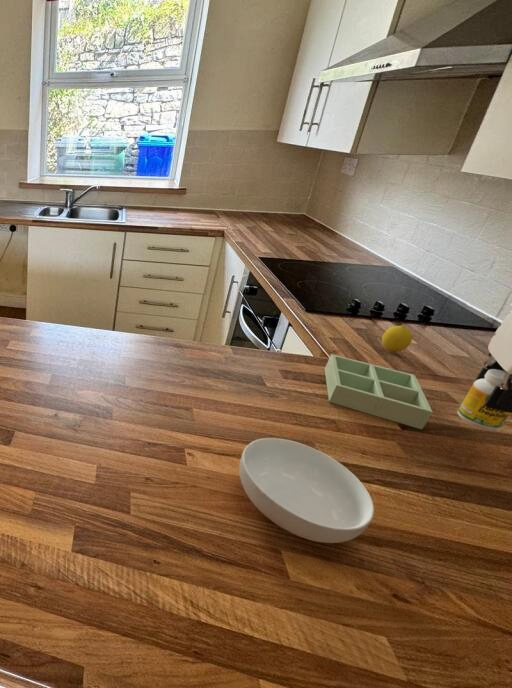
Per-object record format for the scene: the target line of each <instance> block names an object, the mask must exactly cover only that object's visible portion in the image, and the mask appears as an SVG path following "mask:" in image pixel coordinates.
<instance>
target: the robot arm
mask: <svg viewBox="0 0 512 688" xmlns="http://www.w3.org/2000/svg"><path fill="white" fill-rule="evenodd" d="M509 306H510V307H511V309H510V310H509V312H508V313H507V315H506V316H505V317H504V318H503V320H502V322H501V323H500V324H499V325H498V328H497V329H496V331H495V332H494V334H493V335H492V337H491V339H490V341H489V343H488V345H487V347H488V348H487V349H488V352H489V353H488V358H487V359H486V360H485V361H484V362H483V367H482V368H481V370H480V371H479V373H478V375H476V378H475V379H474V381H473V383H472V385H473V384H474V382H475V381H476V380H478V379H484V378H485V374H486V373H487V371H488V370H490V369H496V370H502V371H506V372H505V375H504V377H503V380H502V382H501V385H500V386H496V387H495V388H494V390H493V391H492V393H491V395H490V396H489V398H488V399H487V401H486V402H485V405H486V407H489V408H493V409H497V410H501V411H505V412H509V413H511V414H512V301H511V302H510V304H509Z"/></svg>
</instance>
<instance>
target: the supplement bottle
mask: <svg viewBox="0 0 512 688" xmlns="http://www.w3.org/2000/svg"><path fill="white" fill-rule="evenodd" d="M505 372H506V371H502V370H496V369H490V370H488V371H487V373H486V374H485V378H484V379H478V380H476V381H475V380H474V381H475V382H474V381H473V383H474V384H473V383H472V385H471V387H470V389H469V390H468V392H467V394H466V396H465V397H464V399H463V400H462V403H461V404H460V406H459V408H458V409H457V415H458V416H459V418H460V419H462V420H463V421H465V422H466V423H468V424H470V425H473V426H475V427H477V428H481V429H484V430H491V431H495V430H499V429H501V428H502V427H503V426H504V425H505V422H506V421H507V420H508V418H509V417H510V415H511V414H512V413H509V412H505V411H501V410H497V409H493V408H489V407H486V405H485V402H486V401H487V399H488V398H489V396H490V395H491V393H492V391H493V390H494V388H495V387H496V386H500V385H501V382H502V380H503V377H504V375H505Z"/></svg>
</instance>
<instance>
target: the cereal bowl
mask: <svg viewBox="0 0 512 688" xmlns="http://www.w3.org/2000/svg"><path fill="white" fill-rule="evenodd" d="M238 468H239V470H238V473H239V480H240V481H241V482H240V484H241V485H242V488H243V490H244V492H245V494H246V495H247V498H248V499H249V500H250V502H251V503H252V504H253V505H254V506H255V507H256V508H257V509H258V511H260V513H261V514H263V516H264V517H266V518H267V519H268V520H269V521H271V522H272V523H274V524H275V525H277V526H278V527H280V528H281V529H283V530H284V531H286V532H288V533H291V534H293V535H295V536H297V537H300V538H302V539H306V540H308V541H312V542H317V543H323V544H324V543H325V544H339V543H345V542H348V541H351V540H353V539H355V538H357V537H359V536H360V535H361V534H363V533H364V532H365V531H366V530H367V528H368V527H369V526H370V524H371V523H372V521H373V519H374V515H375V506H374V502H373V499H372V496H371V495H370V493H369V491H368V490H367V488H366V487H365V485H364V484H363V483H362V482H361V481H360V479H359V478H358V477H357V476H356V475H355V474H354V473H353V472H352V471H351V470H349V469H348V468H347V467H346V466H345V465H344V464H342V463H341V462H339V461H338V460H336V459H334V458H333V457H331V456H329V455H328V454H326V453H324V452H322V451H321V450H318V449H316V448H314V447H311V446H309V445H307V444H304V443H301V442H297V441H294V440H290V439H285V438H277V437H264V438H259V439H258V438H257V439H255V440H253V441H251V442H249V444H247V445H246V446H245V447H244V449H243V451H242V453H241V457H240V461H239V466H238Z"/></svg>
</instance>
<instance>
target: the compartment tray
mask: <svg viewBox="0 0 512 688" xmlns="http://www.w3.org/2000/svg"><path fill="white" fill-rule="evenodd" d="M324 375H325V383H326V389H327V390H326V391H327V397H328V402H329V403H332V404H335V405H339V406H341V407H345V408H348V409H351V410H355V411H358V412H362V413H365V414H369V415H372V416H375V417H379V418H382V419H384V420H388V421H392V422H395V423H398V424H401V425H406V426H408V427H412V428H415V429H418V430H423V429H424V427H425V425H426V424H427V422H428V421H429V419H430V418H431V416H432V415H433V413H434V412H433V410H432V408H431V405H430V403H429V402H428V399H427V397H426V395H425V393H424V391H423V389H422V386H421V385H420V383H419V381H418V379H417V377H416V375H415V374H412V373H408V372H405V371H400V370H397V369H393V368H388V367H385V366H381V365H376V364H373V363H369V362H365V361H360V360H356V359H353V358H349V357H346V356H345V357H344V356H341V355H336V354H333V353H330V356H329V358H328V360H327V363H326V365H325V367H324Z"/></svg>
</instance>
